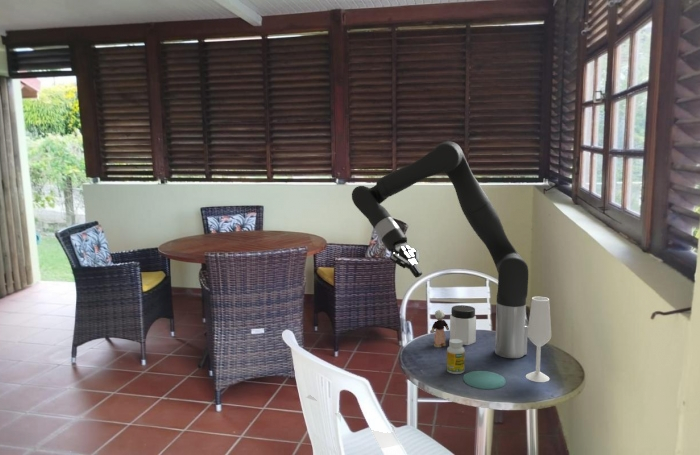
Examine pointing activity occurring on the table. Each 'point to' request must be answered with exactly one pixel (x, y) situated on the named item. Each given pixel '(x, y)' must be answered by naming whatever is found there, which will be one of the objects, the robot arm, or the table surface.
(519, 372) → the table surface
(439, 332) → the grandmother figurine
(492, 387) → the mat
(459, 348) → the supplement bottle
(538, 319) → the champagne flute
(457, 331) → the jar
